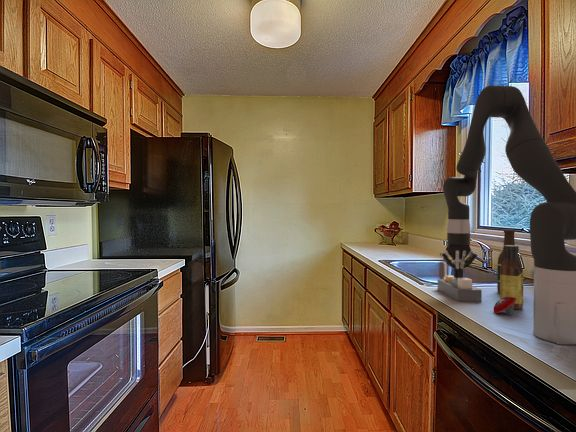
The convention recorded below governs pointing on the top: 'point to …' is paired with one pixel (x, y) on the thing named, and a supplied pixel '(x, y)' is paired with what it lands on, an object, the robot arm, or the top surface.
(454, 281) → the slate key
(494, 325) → the top surface
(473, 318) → the top surface
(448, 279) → the ochre key
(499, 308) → the button
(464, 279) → the ivory key
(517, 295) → the sauce bottle
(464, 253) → the robot arm
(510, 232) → the beer bottle
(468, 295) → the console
